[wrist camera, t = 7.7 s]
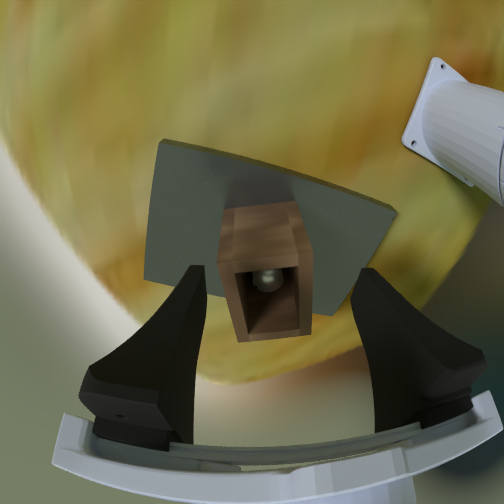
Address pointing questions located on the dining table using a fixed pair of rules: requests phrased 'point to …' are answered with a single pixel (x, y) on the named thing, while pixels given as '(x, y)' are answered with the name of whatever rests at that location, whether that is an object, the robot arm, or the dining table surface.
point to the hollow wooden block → (262, 258)
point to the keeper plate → (250, 194)
